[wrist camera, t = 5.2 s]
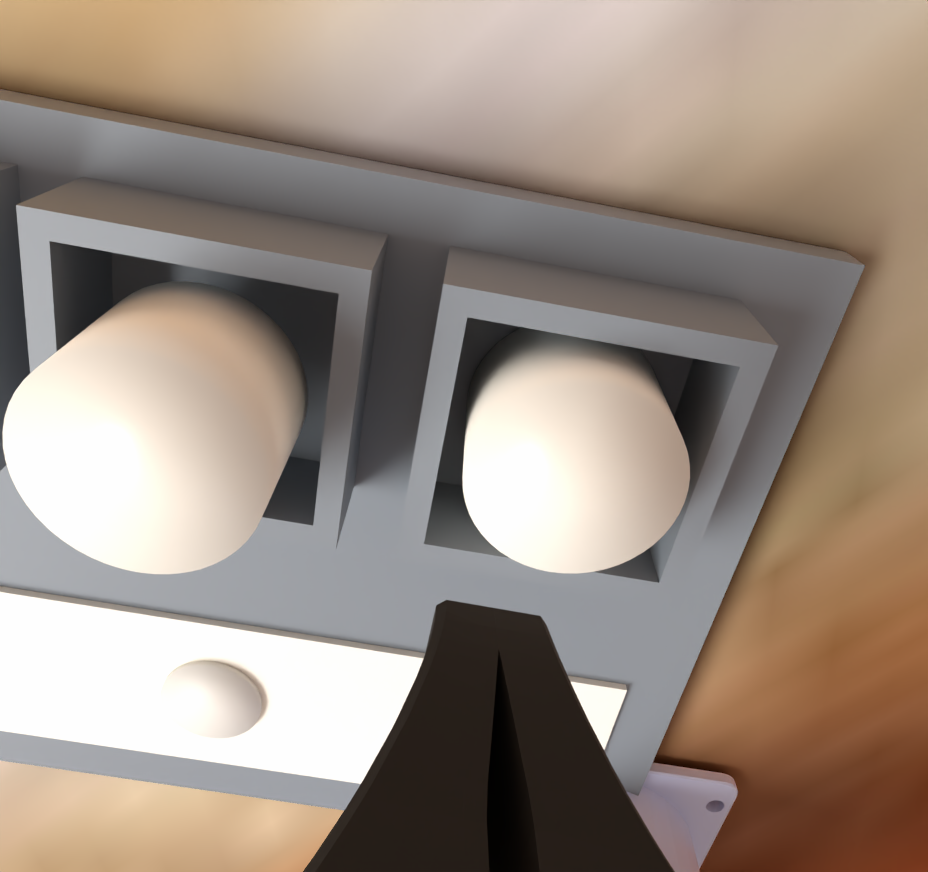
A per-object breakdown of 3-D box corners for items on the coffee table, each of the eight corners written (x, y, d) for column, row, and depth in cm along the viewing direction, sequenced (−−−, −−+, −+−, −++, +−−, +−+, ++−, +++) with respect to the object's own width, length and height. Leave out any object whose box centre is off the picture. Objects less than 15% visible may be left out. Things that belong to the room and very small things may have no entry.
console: (611, 819, 25) (627, 931, 22) (-192, 701, 23) (-293, 803, 20) (845, 251, 16) (924, 307, 13) (-392, 13, 15) (-614, 16, 12)
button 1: (628, 502, 18) (652, 589, 15) (452, 472, 18) (445, 555, 15) (683, 337, 16) (722, 402, 13) (486, 301, 16) (485, 360, 13)
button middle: (298, 494, 16) (260, 591, 13) (94, 460, 16) (13, 552, 13) (317, 304, 14) (276, 373, 11) (85, 261, 14) (-11, 322, 11)
